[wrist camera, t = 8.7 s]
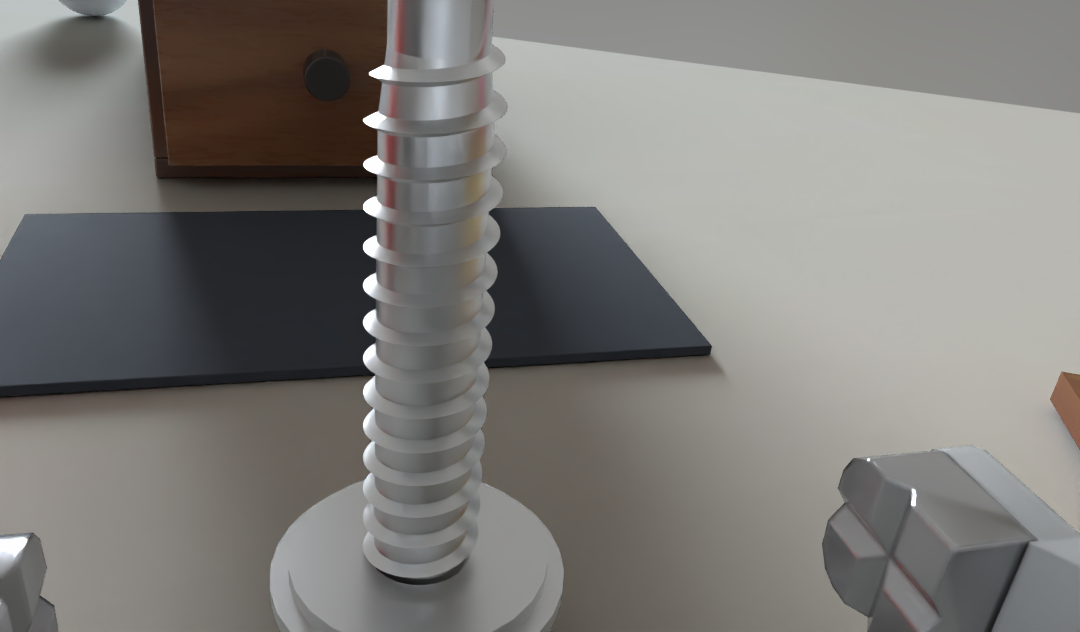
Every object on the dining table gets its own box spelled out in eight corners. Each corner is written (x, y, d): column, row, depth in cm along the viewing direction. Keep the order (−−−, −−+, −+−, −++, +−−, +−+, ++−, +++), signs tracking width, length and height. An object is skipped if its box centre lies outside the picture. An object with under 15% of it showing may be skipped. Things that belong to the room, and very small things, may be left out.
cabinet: (479, 177, 39) (494, -55, 35) (156, 178, 36) (129, -79, 32) (425, 86, 52) (431, -94, 47) (180, 81, 48) (163, -114, 44)
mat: (-69, 401, 22) (-72, 390, 22) (26, 222, 31) (24, 213, 31) (710, 354, 27) (712, 345, 27) (594, 213, 37) (595, 206, 37)
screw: (362, 834, 14) (229, 623, 17) (608, 682, 16) (454, 527, 20) (364, -170, 8) (158, -198, 11) (749, -139, 11) (494, -167, 14)
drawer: (478, 176, 37) (490, -20, 33) (165, 177, 34) (144, -39, 30) (421, 80, 49) (425, -70, 46) (189, 75, 46) (176, -87, 43)
